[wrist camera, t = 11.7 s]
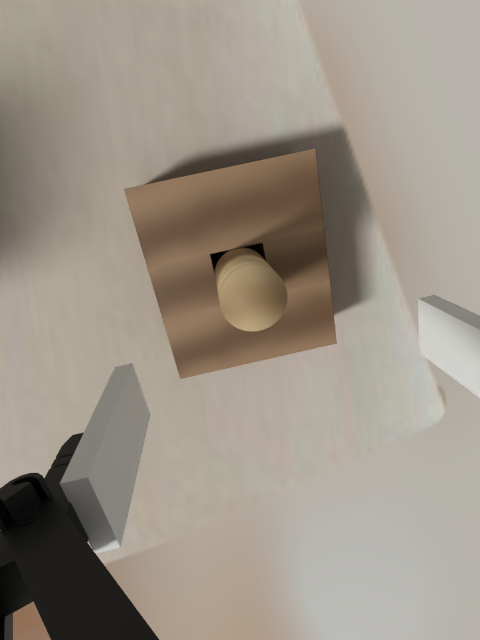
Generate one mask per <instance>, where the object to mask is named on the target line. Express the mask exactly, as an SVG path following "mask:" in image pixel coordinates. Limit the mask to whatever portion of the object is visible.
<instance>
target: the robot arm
mask: <svg viewBox="0 0 480 640" xmlns="http://www.w3.org/2000/svg"><path fill="white" fill-rule="evenodd" d="M418 312H419V313H418V314H419V353H420V354H422V355H423V356H424V357H426V358H427V359H428V360H430V361H431V362H433V363H434V364H435V365H437V366H438V367H439V368H440V369H442V370H443V371H444V372H446V373H447V374H448V375H450V376H451V377H452V378H454V379H455V380H456V381H458V382H459V383H460V384H462V385H463V386H465V387H466V388H467V389H468V390H470V391H471V392H473V393H474V394H475V395H476V396H478V397H479V398H480V316H479V315H477V314H475V313H473V312H471V311H468V310H466V309H464V308H462V307H460V306H458V305H455V304H453V303H451V302H449V301H447V300H444V299H442V298H440V297H438V296H435V295H432V296H428V297H424V298H419V299H418ZM149 417H150V413H149V410H148V407H147V404H146V401H145V398H144V396H143V393H142V390H141V387H140V384H139V381H138V378H137V375H136V373H135V370H134V367H133V364H132V363H131V364H127V365H123V366H118V367H115V369H114V371H113V373H112V375H111V377H110V379H109V381H108V383H107V385H106V387H105V390H104V392H103V394H102V396H101V398H100V400H99V402H98V404H97V406H96V408H95V411H94V413H93V415H92V417H91V419H90V421H89V423H88V425H87V427H86V429H85V432H84V433H80V434H76V435H72V436H71V437H70V438H69V439H68V440H67V441H66V442H65V443H64V445H63V446H62V447H61V449H60V451H59V452H58V454H57V456H56V459H55V460H54V462H53V464H52V465H51V469H49V471H48V473H47V475H46V477H45V479H44V478H43V476H42V475H40V474H39V473H29V474H25V475H22V476H19V477H17V478H15V479H13V480H12V481H10V482H8V483H7V484H6V485H4V486H3V487H2V488H0V530H1V531H0V640H13V612H15V611H17V610H18V609H20V608H22V607H24V606H26V605H27V604H29V603H31V602H33V601H34V603H35V605H36V607H37V610H38V612H39V614H40V616H41V618H42V621H43V623H44V625H45V627H46V629H47V632H48V634H49V636H50V638H51V640H159V639H158V638H157V636H156V635H155V633H154V632H153V631H152V629H151V628H150V627H149V625H148V624H147V623H146V621H145V620H144V619H143V617H142V616H141V615H140V613H139V612H138V611H137V609H136V608H135V606H134V605H133V604H132V602H131V601H130V600H129V598H128V597H127V596H126V594H125V593H124V592H123V590H122V589H121V588H120V586H119V585H118V584H117V582H116V581H115V580H114V578H113V577H112V575H111V574H110V573H109V571H108V570H107V569H106V567H105V566H104V565H103V563H102V562H101V561H100V559H99V558H98V557H97V555H96V553H100V552H104V551H108V550H112V549H116V548H120V547H121V543H122V538H123V534H124V529H125V525H126V520H127V516H128V511H129V507H130V502H131V498H132V493H133V489H134V484H135V480H136V475H137V471H138V466H139V462H140V457H141V453H142V448H143V444H144V439H145V435H146V430H147V426H148V422H149ZM88 541H89V543H90V545H91V547H92V548H91V547H90V546H89V544H88V543H87V542H88ZM92 549H93V550H92Z"/></svg>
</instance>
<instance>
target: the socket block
mask: <svg viewBox="0 0 480 640" xmlns="http://www.w3.org/2000/svg"><path fill="white" fill-rule="evenodd" d="M124 191H125V194H126V197H127V201H128V204H129V207H130V211H131V214H132V217H133V221H134V224H135V228H136V231H137V234H138V238H139V241H140V244H141V248H142V251H143V254H144V258H145V261H146V265H147V268H148V271H149V275H150V278H151V281H152V285H153V288H154V291H155V295H156V298H157V302H158V305H159V308H160V312H161V315H162V318H163V322H164V325H165V328H166V332H167V335H168V339H169V342H170V345H171V349H172V352H173V355H174V359H175V362H176V365H177V369H178V372H179V376H180V379H182V378H186V377H191V376H195V375H199V374H204V373H208V372H213V371H217V370H221V369H226V368H230V367H235V366H239V365H243V364H248V363H252V362H257V361H261V360H265V359H270V358H274V357H279V356H283V355H287V354H292V353H296V352H301V351H305V350H309V349H314V348H318V347H323V346H327V345H331V344H336V343H337V341H336V332H335V323H334V314H333V305H332V296H331V287H330V278H329V269H328V260H327V251H326V242H325V233H324V223H323V214H322V205H321V196H320V187H319V178H318V169H317V160H316V151H315V149H311V150H306V151H301V152H297V153H292V154H287V155H282V156H278V157H273V158H268V159H264V160H259V161H254V162H249V163H245V164H240V165H235V166H231V167H226V168H221V169H216V170H212V171H207V172H202V173H198V174H193V175H188V176H183V177H179V178H174V179H169V180H165V181H160V182H155V183H150V184H146V185H141V186H136V187H132V188H127V189H124ZM253 244H255V245H256V251H257V252H258V253H259V254H260V255H261V256H262V257H263V258H264V260H265V261H266V262H267V263H268V264H269V265H270V267H271V268H272V269H273V270H274V271H275V272H276V273H277V274H278V275H279V276H280V277H281V279H282V280H283V282H284V284H285V286H286V289H287V296H288V298H287V305H286V308H285V311H284V313H283V314H282V316H281V317H280V319H279V320H278V321H277V322H276V323H275V324H273V325H272V326H270V327H268V328H266V329H264V330H260V331H244V330H241V329H238V328H236V327H234V326H233V325H231V324H230V323H229V322H228V321H227V320H226V318H225V317H224V315H223V313H222V311H221V307H220V302H219V296H218V291H217V285H216V282H215V274H214V273H215V271H214V266H213V262H212V257H211V254H212V253H217V252H221V251H226V250H231V249H235V248H240V247H244V246H249V245H253Z"/></svg>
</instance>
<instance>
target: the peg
mask: <svg viewBox="0 0 480 640" xmlns="http://www.w3.org/2000/svg"><path fill="white" fill-rule="evenodd" d="M214 274H215V282H216V285H217V291H218V296H219V302H220V307H221V311H222V313H223V315H224V317H225V318H226V320H227V321H228V322H229V323H230V324H231V325H233V326H234V327H236V328H238V329H241V330H244V331H260V330H264V329H266V328H268V327H270V326H272V325H273V324H275V323H276V322H277V321H278V320H279V319H280V317H281V316H282V314H283V313H284V311H285V308H286V305H287V298H288V296H287V289H286V286H285V284H284V282H283V280H282V279H281V277H280V276H279V275H278V274H277V273H276V272H275V271H274V270H273V269H272V268H271V267H270V265H269V264H268V263H267V262H266V261H265V260H264V258H263V257H262V256H261V255H260V254H259V253H258V252H256V251H254V250H252V249H250V248H244V247H240V248H235V249H231V250H226V251H223V253H222V254H221V256H220V259H219V261H218V262H217V265H216V267H215V273H214Z"/></svg>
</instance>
